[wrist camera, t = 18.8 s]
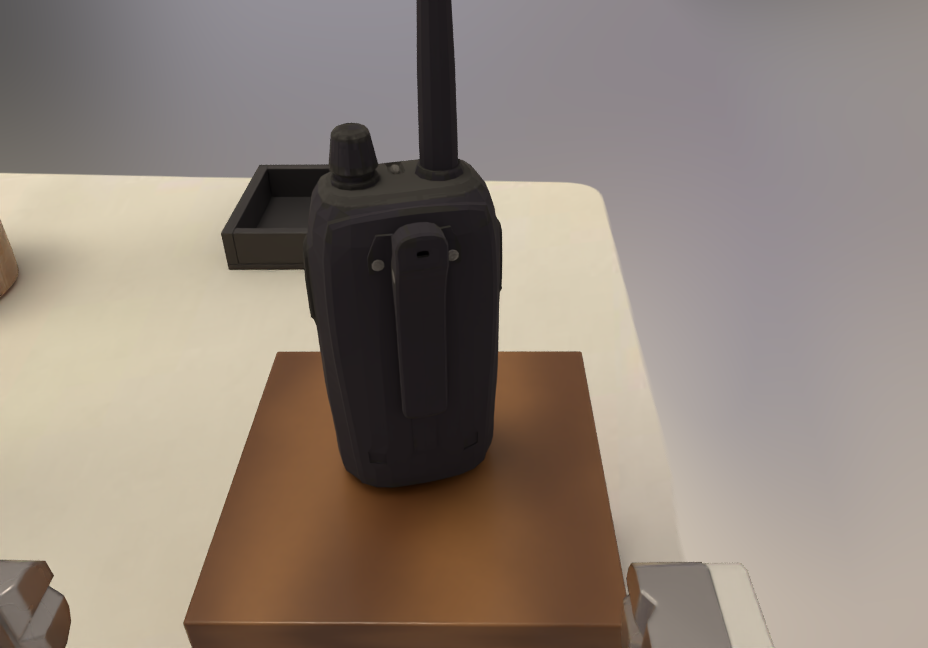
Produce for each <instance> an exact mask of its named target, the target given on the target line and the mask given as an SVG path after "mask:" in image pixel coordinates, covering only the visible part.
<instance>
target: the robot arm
mask: <svg viewBox="0 0 928 648" xmlns="http://www.w3.org/2000/svg"><path fill="white" fill-rule="evenodd" d="M53 576H54V575H53V573H52V572H51V570H50V568H49V567H48V565H47V563H46V561H32V560H0V648H65V646H66V644H67V640H68V635H69V630H70V624H71V617H70V609H69V605H68V603H67V601H66V599H65V597H64V595H62V594H61V593H59V592H58V591H56V590H55V589H53V588H51V587H50V586H49V584H50V582H51V580H52V578H53ZM626 580H627V585H628V591H629V595H627V596H626V597H625V598H623V601H622V608H621V631H620V634H621V644H622V648H774V645H773V642H772V639H771V637H770V633H769V631H768V628H767V625H766V622H765V619H764V616H763V614H762V611H761V608H760V605H759V602H758V599H757V596H756V594H755V591H754V588H753V585H752V582H751V579H750V577H749V574H748V571H747V569H746V568H745V567H744V566H743V565H742V564H741V563H702V562H649V563H631V565H630V566H629V568H628V573H627V578H626Z"/></svg>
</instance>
